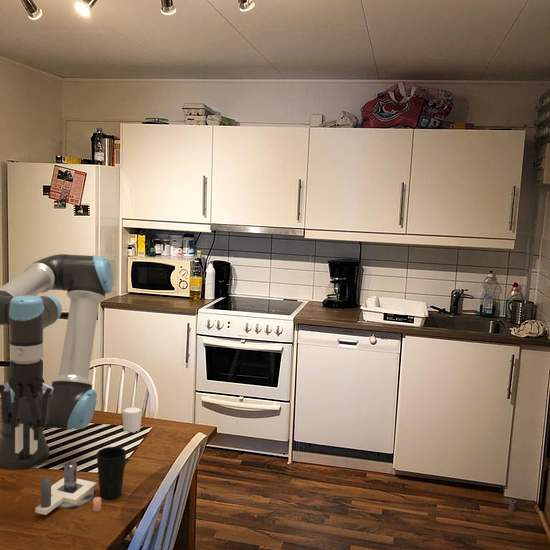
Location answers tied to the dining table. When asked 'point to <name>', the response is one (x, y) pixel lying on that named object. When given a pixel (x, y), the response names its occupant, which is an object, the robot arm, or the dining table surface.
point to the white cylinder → (131, 419)
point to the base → (72, 485)
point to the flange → (61, 494)
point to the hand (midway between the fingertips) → (26, 451)
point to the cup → (111, 471)
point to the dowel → (97, 504)
